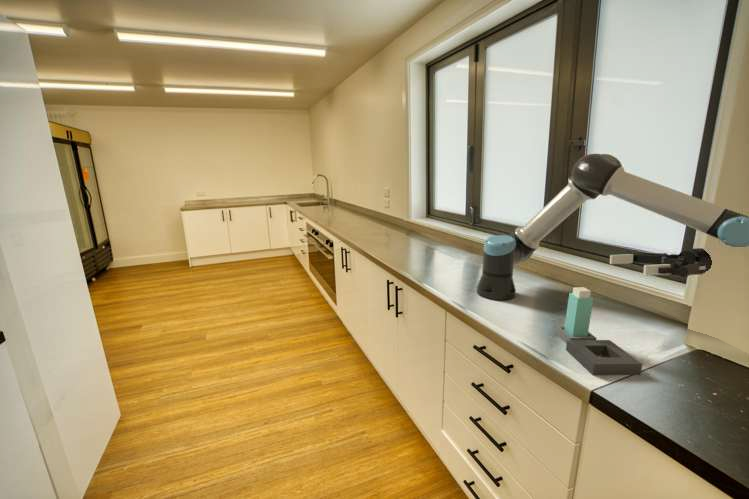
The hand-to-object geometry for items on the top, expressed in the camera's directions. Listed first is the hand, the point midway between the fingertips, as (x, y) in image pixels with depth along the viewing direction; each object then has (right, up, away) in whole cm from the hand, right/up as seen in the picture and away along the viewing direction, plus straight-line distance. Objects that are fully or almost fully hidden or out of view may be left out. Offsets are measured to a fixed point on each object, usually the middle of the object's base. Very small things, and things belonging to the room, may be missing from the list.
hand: (626, 264), depth 98 cm
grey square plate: (-12, -23, +4) cm, 26 cm away
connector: (-12, -23, +4) cm, 26 cm away
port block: (-12, -25, -7) cm, 29 cm away
